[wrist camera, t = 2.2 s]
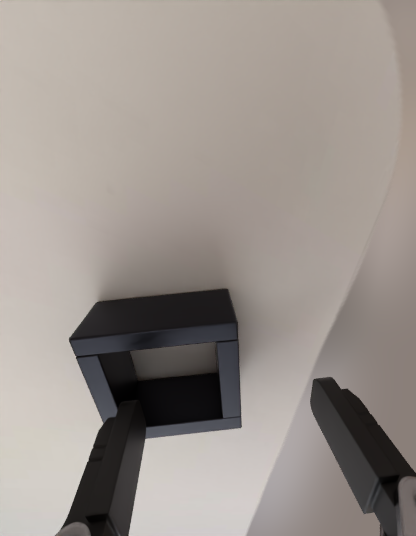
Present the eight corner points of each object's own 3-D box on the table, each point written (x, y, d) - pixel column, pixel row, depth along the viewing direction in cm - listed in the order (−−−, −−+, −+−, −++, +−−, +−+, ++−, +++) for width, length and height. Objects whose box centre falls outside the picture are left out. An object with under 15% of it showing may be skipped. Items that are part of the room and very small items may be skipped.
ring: (228, 288, 12) (238, 321, 9) (233, 381, 15) (241, 428, 12) (96, 301, 12) (67, 339, 9) (126, 393, 15) (111, 443, 12)
